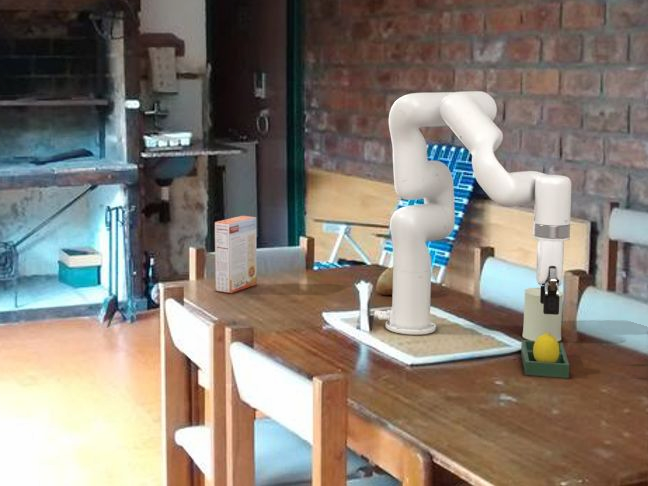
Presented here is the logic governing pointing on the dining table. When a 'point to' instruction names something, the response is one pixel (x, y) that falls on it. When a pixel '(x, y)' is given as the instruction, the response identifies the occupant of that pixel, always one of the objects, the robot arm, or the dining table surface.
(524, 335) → the can
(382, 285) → the bread roll
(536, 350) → the lemon
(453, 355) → the dining table surface
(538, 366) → the holder
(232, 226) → the cracker box
